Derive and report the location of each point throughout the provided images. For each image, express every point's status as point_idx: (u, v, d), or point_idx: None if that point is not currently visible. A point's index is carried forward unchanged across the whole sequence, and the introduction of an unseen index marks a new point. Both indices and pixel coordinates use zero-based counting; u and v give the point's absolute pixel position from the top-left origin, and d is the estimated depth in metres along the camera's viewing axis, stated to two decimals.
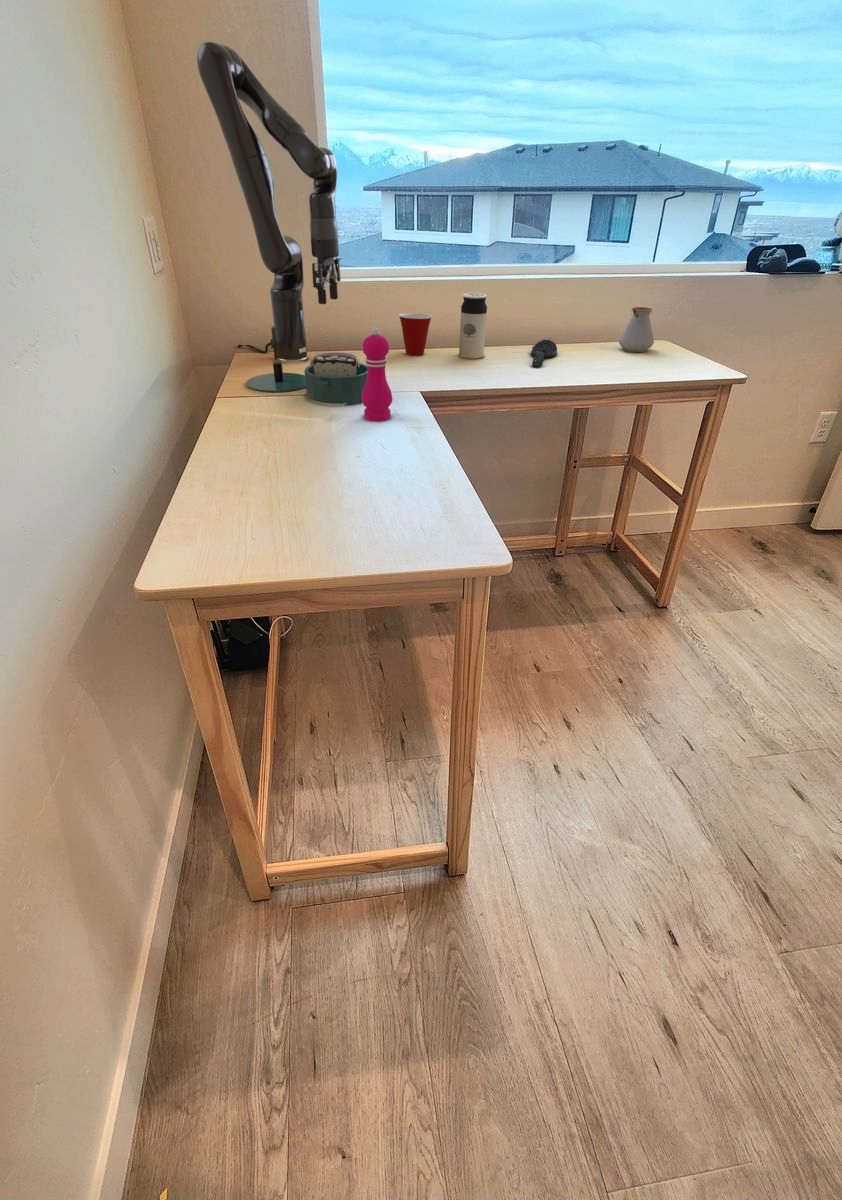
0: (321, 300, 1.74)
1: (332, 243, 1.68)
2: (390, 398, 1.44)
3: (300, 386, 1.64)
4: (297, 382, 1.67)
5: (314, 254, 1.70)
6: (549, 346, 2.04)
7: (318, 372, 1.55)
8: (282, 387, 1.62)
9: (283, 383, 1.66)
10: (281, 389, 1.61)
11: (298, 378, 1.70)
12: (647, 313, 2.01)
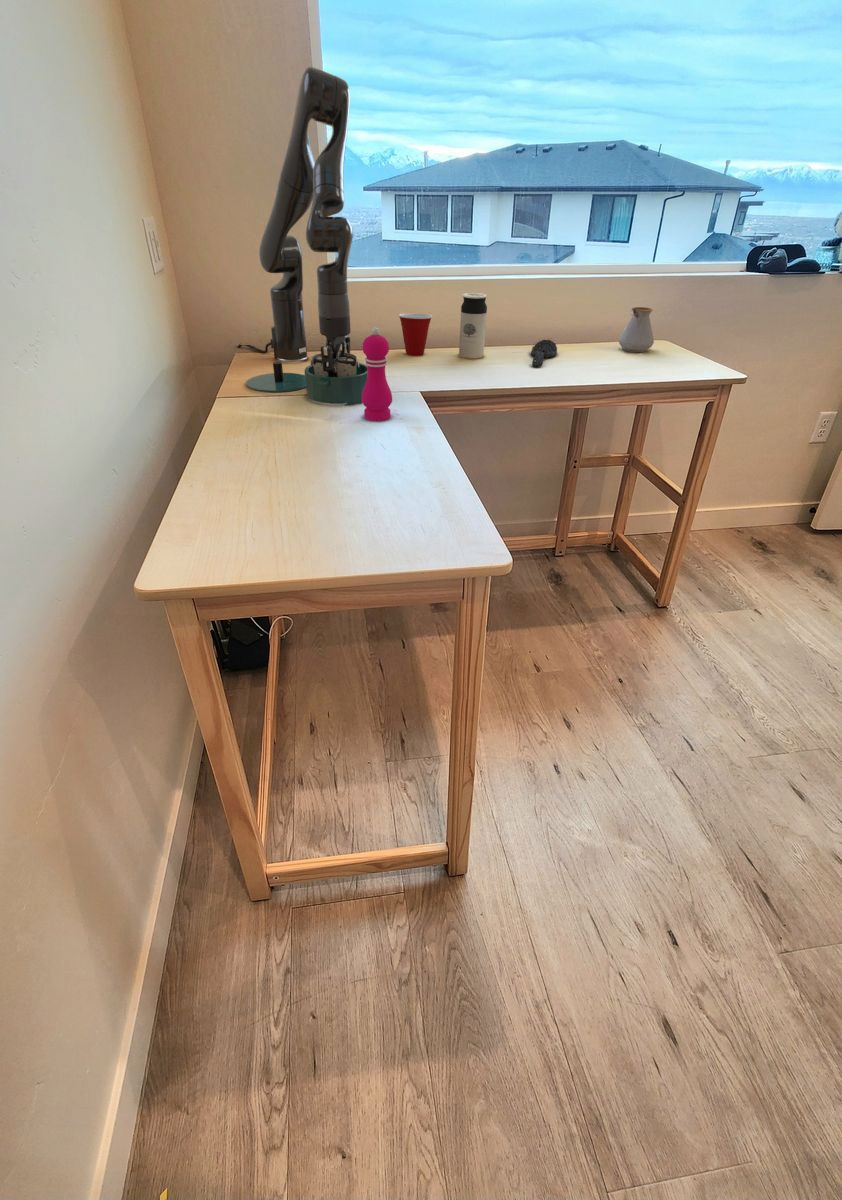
0: None
1: (343, 321, 1.48)
2: (390, 398, 1.44)
3: (300, 386, 1.64)
4: (297, 382, 1.67)
5: (323, 333, 1.50)
6: (549, 346, 2.04)
7: (318, 372, 1.55)
8: (282, 387, 1.62)
9: (283, 383, 1.66)
10: (281, 389, 1.61)
11: (298, 378, 1.70)
12: (647, 313, 2.01)
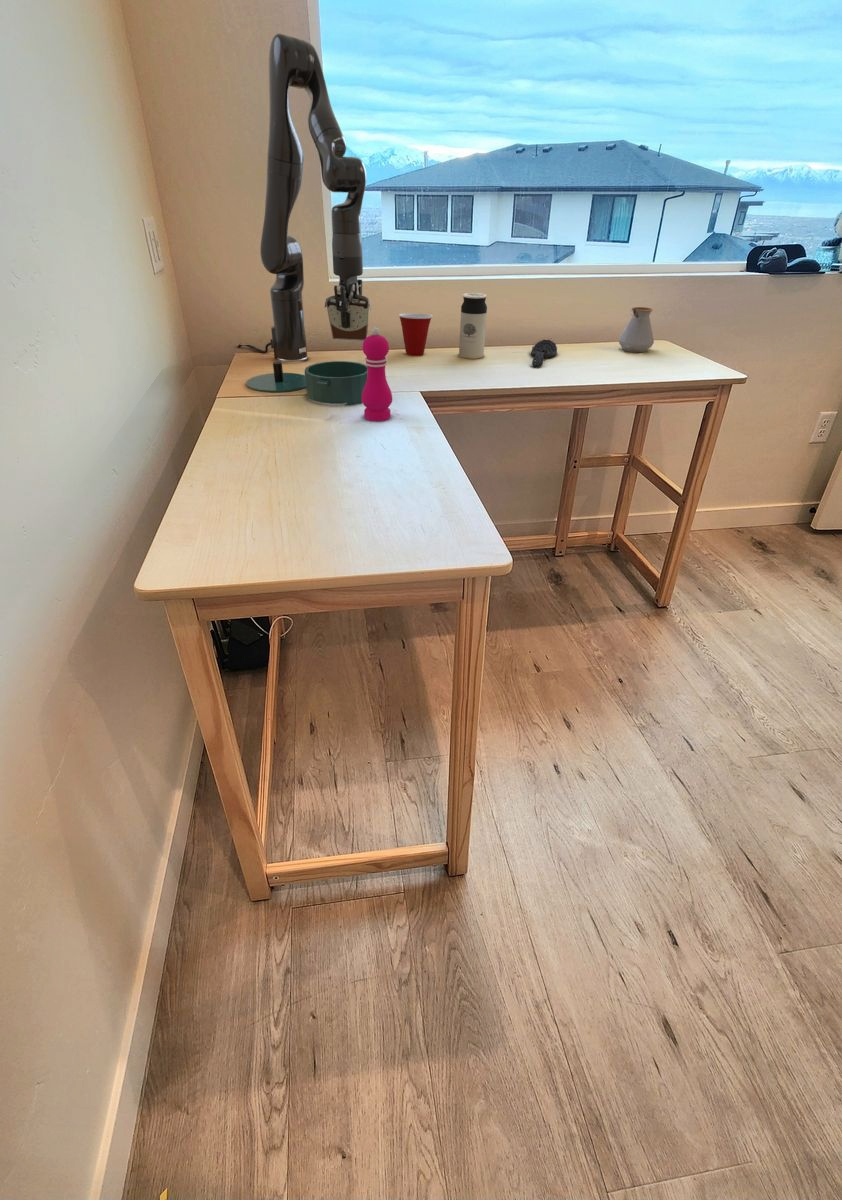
0: (344, 324, 1.61)
1: (356, 261, 1.54)
2: (390, 398, 1.44)
3: (300, 386, 1.64)
4: (297, 382, 1.67)
5: (336, 272, 1.56)
6: (549, 346, 2.04)
7: (332, 314, 1.62)
8: (282, 387, 1.62)
9: (283, 383, 1.66)
10: (281, 389, 1.61)
11: (298, 378, 1.70)
12: (647, 313, 2.01)
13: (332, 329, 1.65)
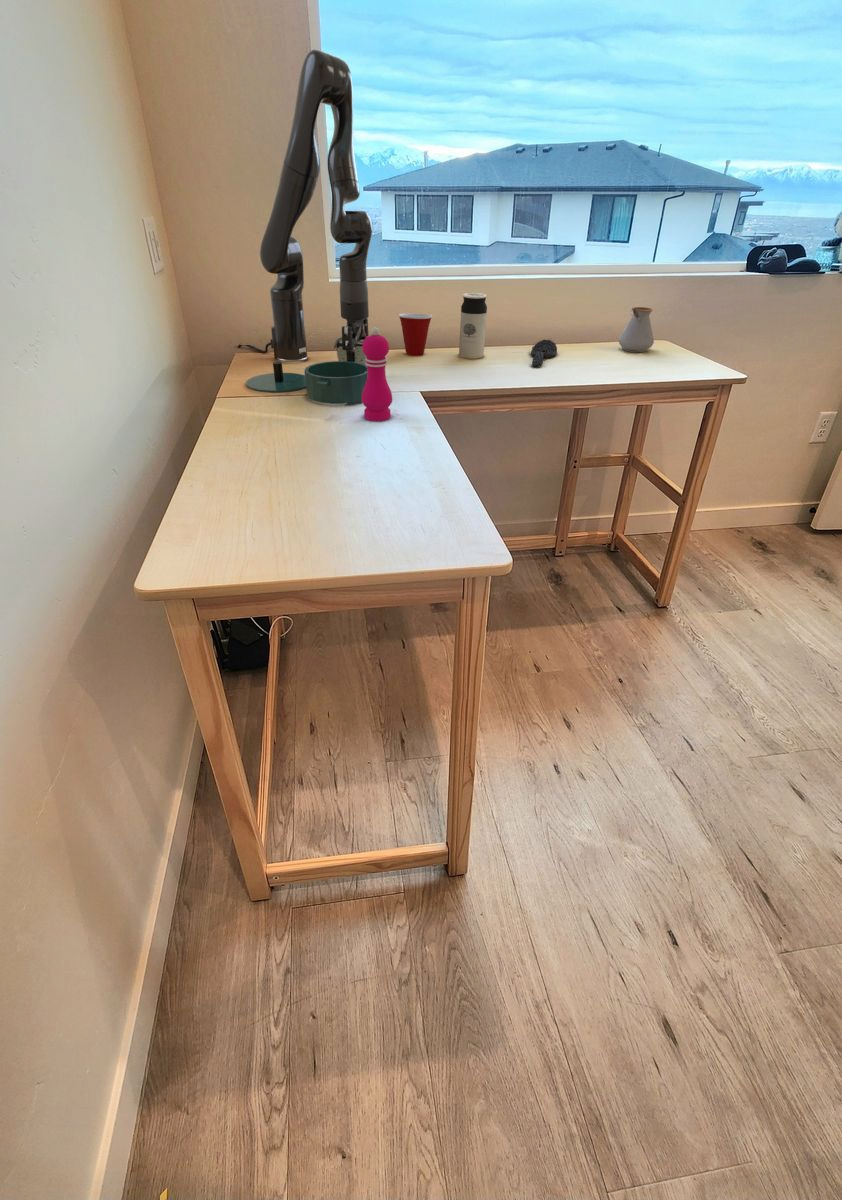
0: None
1: (362, 306, 1.64)
2: (390, 398, 1.44)
3: (300, 386, 1.64)
4: (297, 382, 1.67)
5: (344, 316, 1.65)
6: (549, 346, 2.04)
7: (341, 354, 1.72)
8: (282, 387, 1.62)
9: (283, 383, 1.66)
10: (281, 389, 1.61)
11: (298, 378, 1.70)
12: (647, 313, 2.01)
13: None
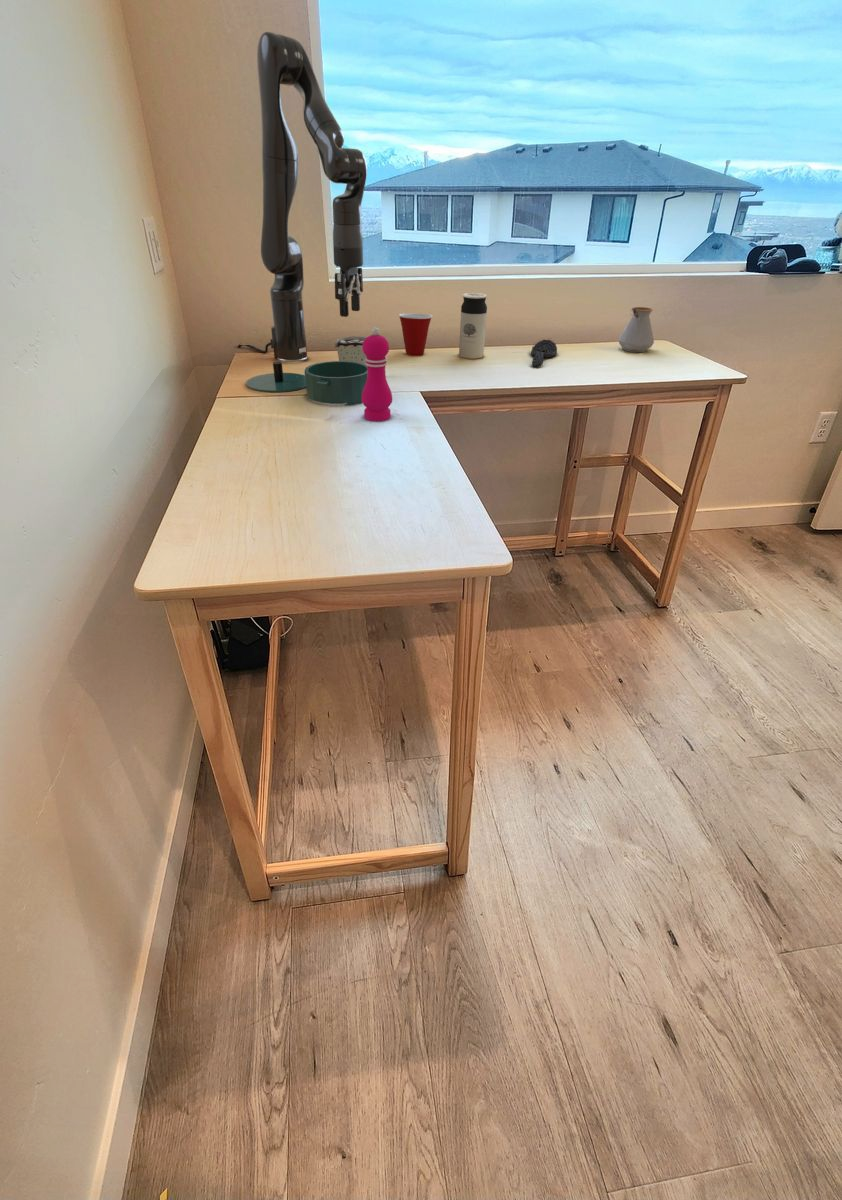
0: (343, 312, 1.62)
1: (356, 252, 1.56)
2: (390, 398, 1.44)
3: (300, 386, 1.64)
4: (297, 382, 1.67)
5: (337, 263, 1.57)
6: (549, 346, 2.04)
7: (342, 354, 1.72)
8: (282, 387, 1.62)
9: (283, 383, 1.66)
10: (281, 389, 1.61)
11: (298, 378, 1.70)
12: (647, 313, 2.01)
13: None
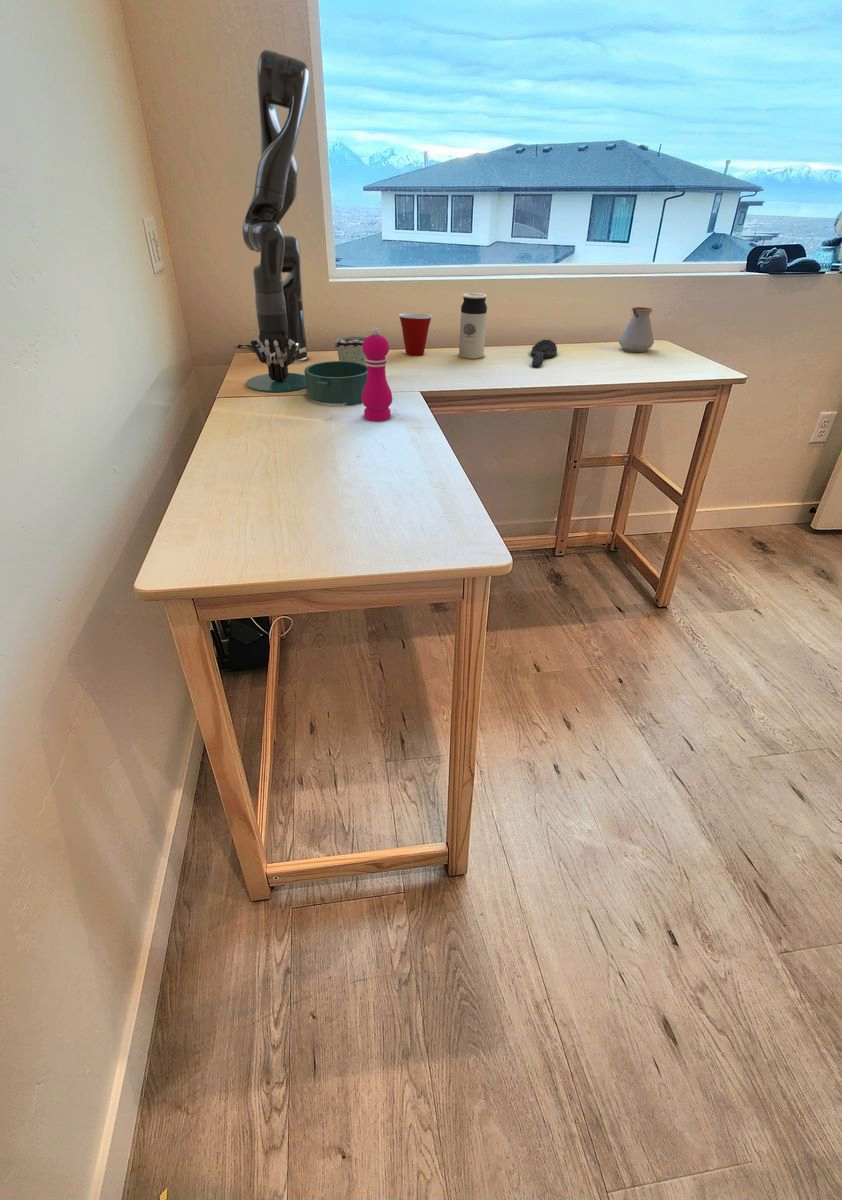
0: None
1: (259, 318, 1.56)
2: (390, 398, 1.44)
3: (300, 386, 1.64)
4: (297, 382, 1.67)
5: None
6: (549, 346, 2.04)
7: (342, 354, 1.72)
8: (282, 387, 1.62)
9: (283, 383, 1.66)
10: (281, 389, 1.61)
11: (298, 378, 1.70)
12: (647, 313, 2.01)
13: None
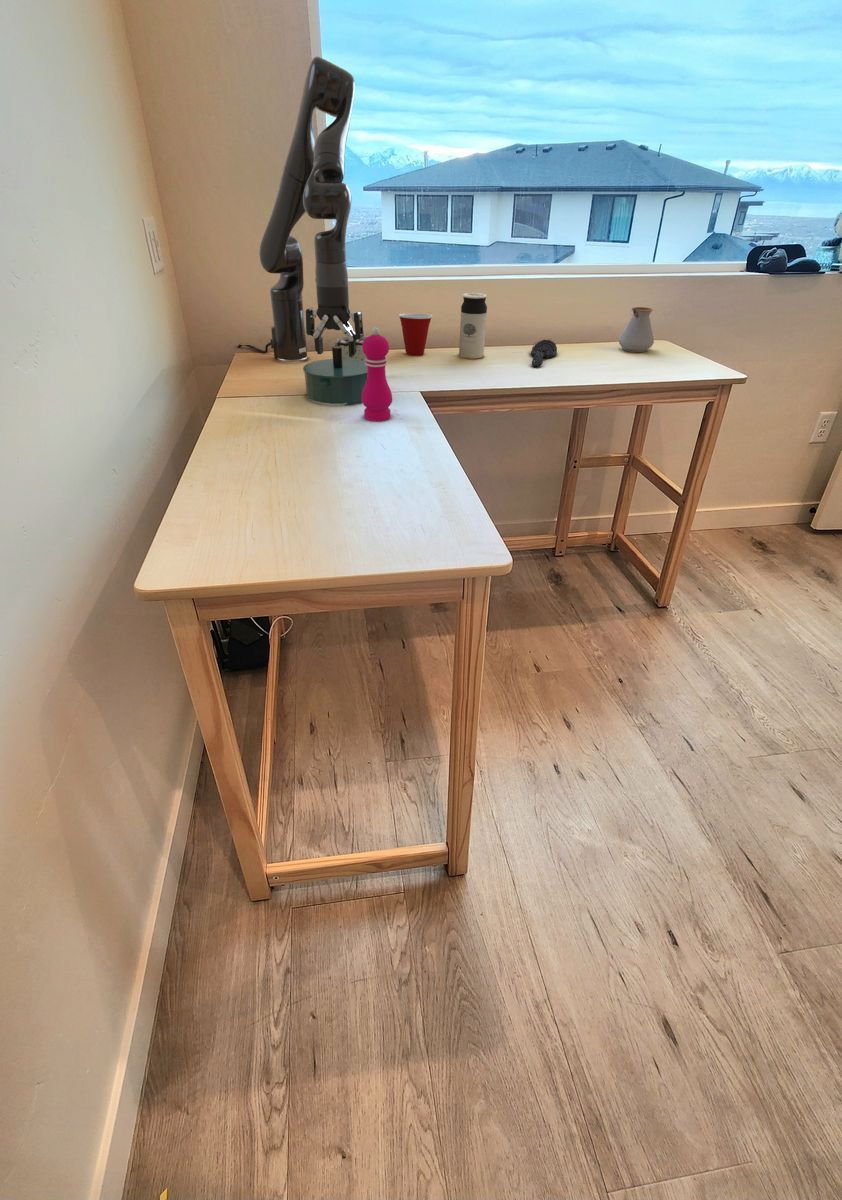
0: None
1: (319, 291, 1.45)
2: (390, 398, 1.44)
3: (362, 372, 1.53)
4: (357, 368, 1.56)
5: None
6: (549, 346, 2.04)
7: (342, 354, 1.72)
8: (343, 373, 1.52)
9: (343, 369, 1.55)
10: (342, 375, 1.51)
11: (357, 364, 1.59)
12: (647, 313, 2.01)
13: None
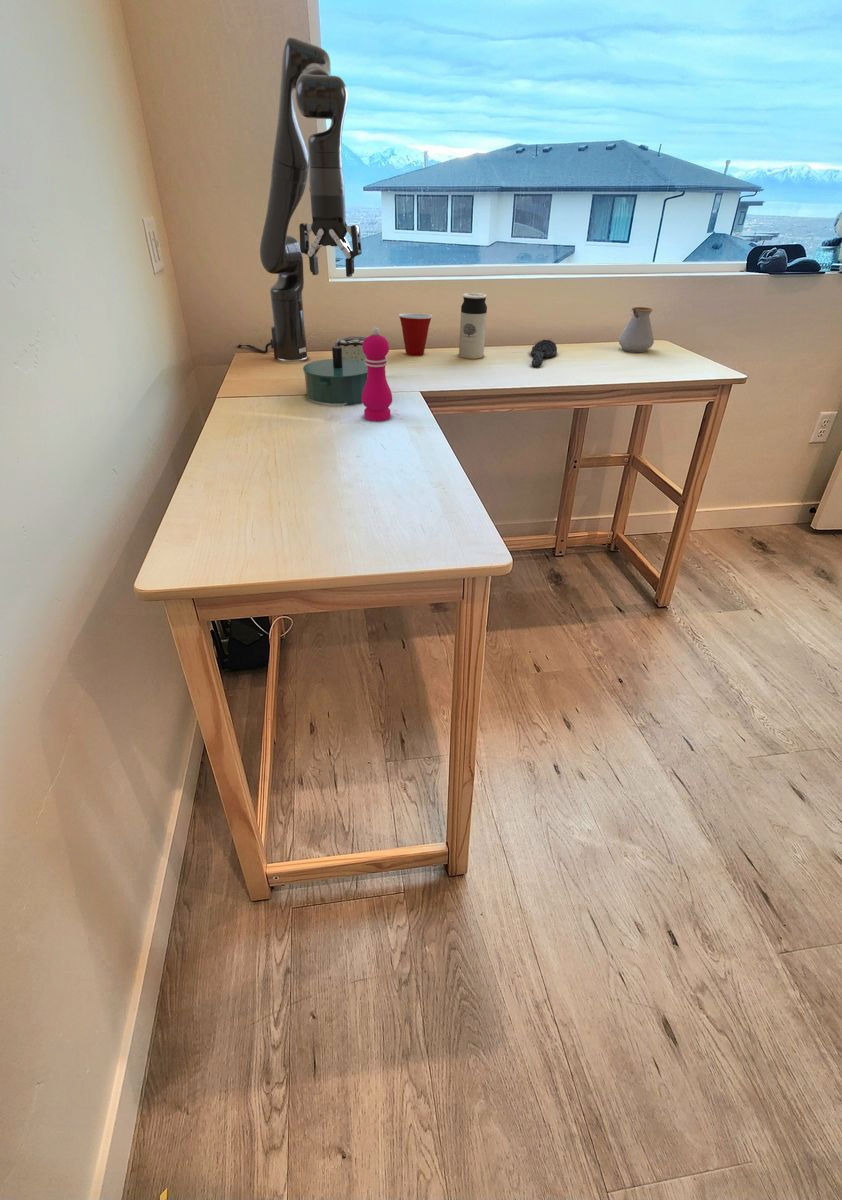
0: None
1: (314, 200, 1.35)
2: (390, 398, 1.44)
3: (362, 372, 1.53)
4: (357, 368, 1.56)
5: None
6: (549, 346, 2.04)
7: (342, 354, 1.72)
8: (343, 373, 1.52)
9: (343, 369, 1.55)
10: (342, 375, 1.51)
11: (357, 364, 1.59)
12: (647, 313, 2.01)
13: None
